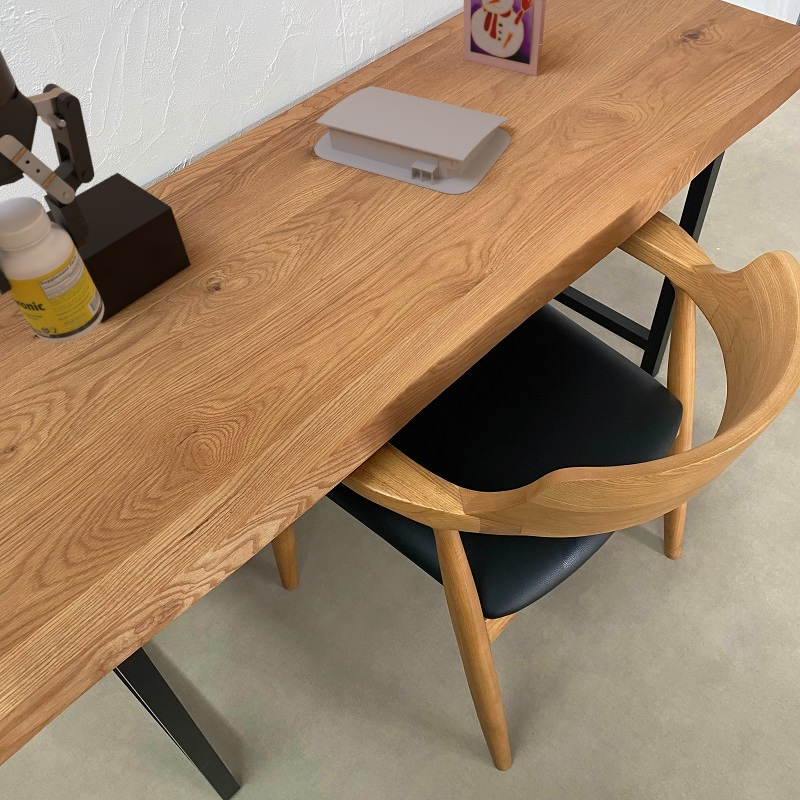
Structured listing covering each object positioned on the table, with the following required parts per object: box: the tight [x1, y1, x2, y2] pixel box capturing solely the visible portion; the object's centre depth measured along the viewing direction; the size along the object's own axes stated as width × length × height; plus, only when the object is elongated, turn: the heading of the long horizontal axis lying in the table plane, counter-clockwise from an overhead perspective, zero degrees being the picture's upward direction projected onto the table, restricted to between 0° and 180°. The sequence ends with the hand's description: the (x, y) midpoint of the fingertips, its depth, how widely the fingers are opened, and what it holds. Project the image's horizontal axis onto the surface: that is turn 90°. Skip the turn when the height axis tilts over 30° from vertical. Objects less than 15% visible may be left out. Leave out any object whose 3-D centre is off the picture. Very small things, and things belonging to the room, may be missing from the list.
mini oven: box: [46, 172, 192, 324], centre depth 86 cm, size 13×10×8 cm
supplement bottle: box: [0, 196, 104, 344], centre depth 56 cm, size 5×5×10 cm
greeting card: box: [463, 0, 547, 77], centre depth 109 cm, size 11×7×15 cm, turn 60°
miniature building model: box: [313, 85, 512, 195], centre depth 101 cm, size 15×23×4 cm, turn 61°
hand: (38, 264), depth 56 cm, fingers closed on supplement bottle, 5 cm apart
